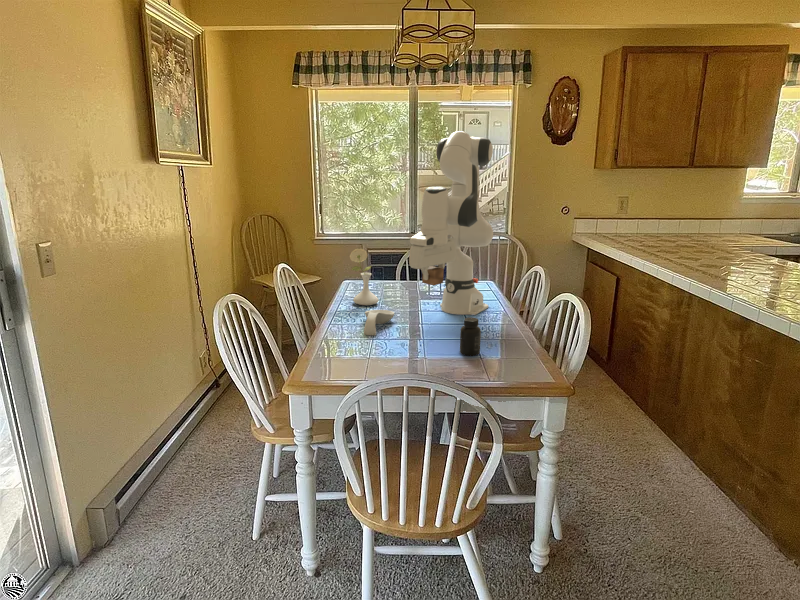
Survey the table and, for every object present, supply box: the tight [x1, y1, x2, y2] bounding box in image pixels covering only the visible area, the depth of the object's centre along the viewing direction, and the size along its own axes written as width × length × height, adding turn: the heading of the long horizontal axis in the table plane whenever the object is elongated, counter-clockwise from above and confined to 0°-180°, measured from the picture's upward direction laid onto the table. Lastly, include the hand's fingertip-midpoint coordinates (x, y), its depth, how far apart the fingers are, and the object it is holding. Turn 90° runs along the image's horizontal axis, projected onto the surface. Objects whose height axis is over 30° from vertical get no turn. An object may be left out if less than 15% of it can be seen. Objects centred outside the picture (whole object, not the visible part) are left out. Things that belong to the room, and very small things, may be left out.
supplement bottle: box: [459, 316, 482, 357], centre depth 168 cm, size 7×7×12 cm
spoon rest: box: [363, 309, 395, 336], centre depth 195 cm, size 24×12×7 cm, turn 172°
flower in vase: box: [349, 248, 380, 306], centre depth 223 cm, size 13×11×25 cm
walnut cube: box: [421, 266, 445, 286], centre depth 170 cm, size 5×5×5 cm
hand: (432, 278), depth 170 cm, fingers closed on walnut cube, 5 cm apart
